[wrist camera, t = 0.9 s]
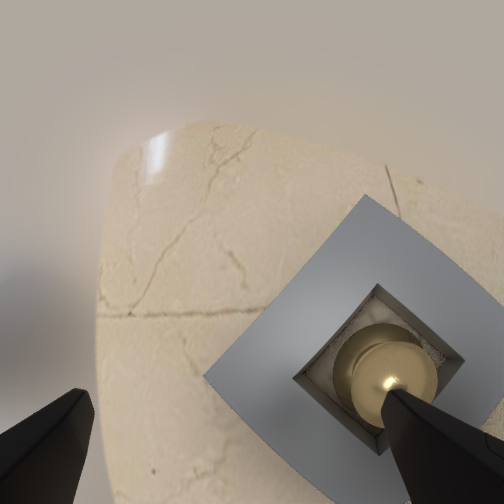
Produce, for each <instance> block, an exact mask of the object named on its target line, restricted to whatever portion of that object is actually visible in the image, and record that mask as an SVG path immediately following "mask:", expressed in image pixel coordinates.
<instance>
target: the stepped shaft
mask: <svg viewBox="0 0 504 504" xmlns="http://www.w3.org/2000/svg"><path fill="white" fill-rule="evenodd" d="M333 382H334V387H335V390H336V393H337V395H338V396H339V398H340V400H341V401H342V402H343V404H344V405H345V406H346V407H347V408H349V409H350V410H351V411H353V412H355V413H357V414H359V415H360V416H361V417H362V418H363V419H364V420H365V421H367V422H368V423H370V424H372V425H374V426H376V427H380V428H384V424H383V421H382V418H381V407H382V405H383V402H384V400H385V397H386V394H387V392H388V391H389V390H392V389H398V388H401V389H403V390H405V391H407V392H409V393H410V394H412V395H414V396H416V397H418V398H420V399H421V400H423V401H425V402H427V403H429V404H431V403H432V401H433V399H434V396H435V393H436V390H437V383H438V377H437V370H436V367H435V364H434V362H433V360H432V358H431V357H430V356H429V354H428V353H427V352H426V351H425V350H423V348H422V346H421V344H420V342H419V341H418V340H417V338H416V337H415V336H414V335H413V334H412V333H410V332H409V331H408V330H406V329H404V328H402V327H400V326H397V325H393V324H375V325H371V326H367V327H365V328H363V329H361V330H359V331H357V332H356V333H355V334H353V335H352V336H351V337H350V338H349V339H348V340H347V341H346V342H345V343H344V344H343V346H342V347H341V349H340V350H339V352H338V354H337V357H336V360H335V363H334V368H333Z"/></svg>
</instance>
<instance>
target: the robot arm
mask: <svg viewBox="0 0 504 504" xmlns="http://www.w3.org/2000/svg"><path fill="white" fill-rule="evenodd" d="M94 415H95V412H94V408H93V405H92V402H91V399H90V396H89V393H88V391H87V390H84V389H78V388H74V389H72V390H70V391H69V392H67V393H66V394H64V395H63V396H61V397H59V398H58V399H56V400H55V401H53V402H51V403H50V404H48V405H47V406H45V407H44V408H42V409H41V410H39V411H37V412H36V413H34V414H32V415H31V416H29V417H28V418H26V419H24V420H23V421H21V422H20V423H18V424H16V425H15V426H13V427H11V428H10V429H8V430H6V431H5V432H3V433H2V434H0V504H73V501H74V497H75V494H76V490H77V486H78V483H79V480H80V476H81V473H82V470H83V466H84V463H85V459H86V456H87V451H88V445H89V440H90V435H91V430H92V425H93V421H94ZM381 418H382V421H383V424H384V428H385V431H386V435H387V438H388V442H389V445H390V449H391V452H392V455H393V457H394V460H395V462H396V465H397V467H398V469H399V472H400V474H401V477H402V479H403V482H404V484H405V487H406V490H407V492H408V495H409V497H410V500H411V502H412V504H504V441H502V440H500V439H498V438H496V437H494V436H492V435H490V434H488V433H486V432H483V431H481V430H479V429H477V428H475V427H473V426H471V425H469V424H467V423H465V422H463V421H461V420H460V419H458V418H456V417H454V416H452V415H450V414H448V413H446V412H444V411H442V410H440V409H438V408H436V407H435V406H433V405H431V404H429V403H427V402H425V401H423V400H421V399H420V398H418V397H416V396H414V395H412V394H410V393H409V392H407V391H405V390H403V389H401V388H398V389H392V390H389V391H388V392H387V394H386V397H385V400H384V402H383V405H382V407H381Z"/></svg>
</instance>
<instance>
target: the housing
mask: <svg viewBox="0 0 504 504" xmlns="http://www.w3.org/2000/svg"><path fill="white" fill-rule="evenodd" d="M373 294H374V295H375V296H377V297H378V298H379V299H380V300H381V301H383V302H384V303H385V304H386V305H387V306H388V307H390V308H391V309H392V310H393V311H394V312H395V313H397V314H398V315H399V316H400V317H401V318H402V319H403V320H405V321H406V322H407V323H408V324H409V325H410V326H411V327H413V328H414V329H415V330H416V331H417V332H418V333H419V334H421V335H422V336H423V337H424V338H425V339H426V340H427V341H428V342H430V343H431V344H432V345H433V346H434V347H435V348H436V349H437V350H438V351H439V352H441V353H442V354H443V355H444V356H445V357H446V358H447V359H446V361H445V362H444V363H443V365H442V366H441V367H440V368H439V370H438V371H437V377H438V383H437V390H436V393H435V396H434V399H433V401H432V403H431V405H433V406H435V407H436V408H438V409H440V410H442V411H444V412H446V413H448V414H450V415H452V416H454V417H456V418H458V419H460V420H461V421H463V422H465V423H467V424H469V425H471V426H473V427H475V428H477V429H480V428H481V426H482V425H483V424H484V423H485V421H486V420H487V419H488V417H489V416H490V415H491V414H492V412H493V411H494V410H495V408H496V407H497V406H498V404H499V403H500V401H501V400H502V399H503V397H504V307H503V306H502V305H501V304H500V303H499V302H498V301H497V300H496V299H495V298H494V297H492V296H491V295H490V294H489V293H488V292H487V291H486V290H485V289H484V288H483V287H482V286H481V285H480V284H479V283H477V282H476V281H475V280H474V279H473V278H472V277H471V276H470V275H469V274H467V273H466V272H465V271H464V270H463V269H462V268H461V267H459V266H458V265H457V264H456V263H455V262H454V261H452V260H451V259H450V258H449V257H448V256H446V255H445V254H444V253H443V252H442V251H440V250H439V249H438V248H437V247H436V246H434V245H433V244H432V243H431V242H429V241H428V240H427V239H426V238H424V237H423V236H422V235H421V234H419V233H418V232H417V231H415V230H414V229H413V228H411V227H410V226H409V225H408V224H406V223H405V222H404V221H402V220H401V219H400V218H398V217H397V216H396V215H394V214H393V213H391V212H390V211H389V210H387V209H386V208H385V207H383V206H382V205H380V204H379V203H378V202H376V201H375V200H373V199H372V198H370V197H369V196H368V195H366V194H364V196H363V197H362V198H361V199H360V200H359V202H358V203H357V204H356V205H355V207H354V208H353V209H352V210H351V211H350V213H349V214H348V215H347V216H346V217H345V219H344V220H343V221H342V222H341V223H340V225H339V226H338V227H337V228H336V229H335V231H334V232H333V233H332V234H331V235H330V236H329V238H328V239H327V240H326V241H325V242H324V244H323V245H322V246H321V247H320V248H319V249H318V251H317V252H316V253H315V254H314V255H313V256H312V257H311V259H310V260H309V261H308V262H307V263H306V264H305V266H304V267H303V268H302V269H301V270H300V271H299V272H298V273H297V275H296V276H295V277H294V278H293V279H292V280H291V281H290V283H289V284H288V285H287V286H286V287H285V288H284V289H283V290H282V291H281V293H280V294H279V295H278V296H277V297H276V298H275V299H274V300H273V301H272V303H271V304H270V305H269V306H268V307H267V308H266V309H265V310H264V311H263V312H262V314H261V315H260V316H259V317H258V318H257V319H256V320H255V321H254V322H253V323H252V324H251V325H250V327H249V328H248V329H247V330H246V331H245V332H244V333H243V334H242V335H241V336H240V337H239V338H238V339H237V340H236V341H235V343H234V344H233V345H232V346H231V347H230V348H229V349H228V350H227V351H226V352H225V353H224V354H223V355H222V356H221V357H220V358H219V359H218V360H217V361H216V362H215V363H214V364H213V365H212V366H211V368H210V369H209V370H208V371H207V372H206V373H205V374H204V375H203V377H204V378H205V379H206V381H207V382H208V383H209V384H210V385H211V386H212V387H213V388H214V390H215V391H216V392H217V393H218V394H219V395H220V396H221V397H222V398H223V399H224V401H225V402H226V403H227V404H228V405H229V406H230V407H231V408H232V409H233V410H234V411H235V412H236V413H237V414H238V415H239V416H240V417H241V419H242V420H243V421H244V422H245V423H246V424H247V425H248V426H249V427H250V428H251V429H252V430H253V431H254V432H255V433H256V434H257V435H258V436H259V437H260V438H261V439H262V440H263V441H265V442H266V443H267V444H268V445H269V446H270V447H271V448H272V449H273V450H274V451H275V452H276V453H277V454H278V455H279V456H280V457H281V458H283V459H284V460H285V461H286V462H287V463H288V464H289V465H290V466H291V467H292V468H294V469H295V470H296V471H297V472H298V473H299V474H300V475H302V476H303V477H304V478H305V479H306V480H307V481H309V482H310V483H311V484H312V485H313V486H314V487H316V488H317V489H318V490H319V491H321V492H322V493H323V494H324V495H325V496H327V497H328V498H329V499H330V500H332V501H333V502H334V503H336V504H404V503H405V502H407V501H408V500H409V499H410V497H409V495H408V492H407V490H406V487H405V484H404V482H403V479H402V477H401V474H400V472H399V469H398V467H397V465H396V462H395V460H394V457H393V455H392V452H391V449H390V445H389V442H388V438H387V435H386V431H385V430H384V431H383V432H382V433H381V434H380V435H379V436H378V437H377V438H375V437H374V436H372V435H371V434H370V433H369V432H368V431H367V430H365V429H364V428H363V427H362V426H361V425H360V424H359V423H357V422H356V421H355V420H354V419H353V418H352V417H351V416H350V415H348V414H347V413H346V412H345V411H344V410H343V409H342V408H341V407H339V406H338V405H337V404H336V403H335V402H334V401H333V400H332V399H331V398H330V397H328V396H327V395H326V394H325V393H324V392H323V391H322V390H321V389H320V388H319V387H318V386H316V385H315V384H314V383H313V382H312V381H311V380H310V379H309V378H308V377H307V376H306V375H305V374H304V373H303V372H304V371H305V370H306V369H307V368H308V367H309V366H310V365H311V364H312V363H313V362H314V361H315V360H316V359H317V358H318V357H319V356H320V354H321V353H322V352H323V351H324V350H325V349H326V348H327V347H328V346H329V345H330V344H331V343H332V341H333V340H334V339H335V338H336V337H337V336H338V335H339V334H340V333H341V331H342V330H343V329H344V328H345V327H346V326H347V325H348V324H349V322H350V321H351V320H352V319H353V318H354V317H355V315H356V314H357V313H358V312H359V311H360V310H361V308H362V307H363V306H364V305H365V304H366V302H367V301H368V300H369V299H370V297H371V296H372V295H373Z"/></svg>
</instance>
